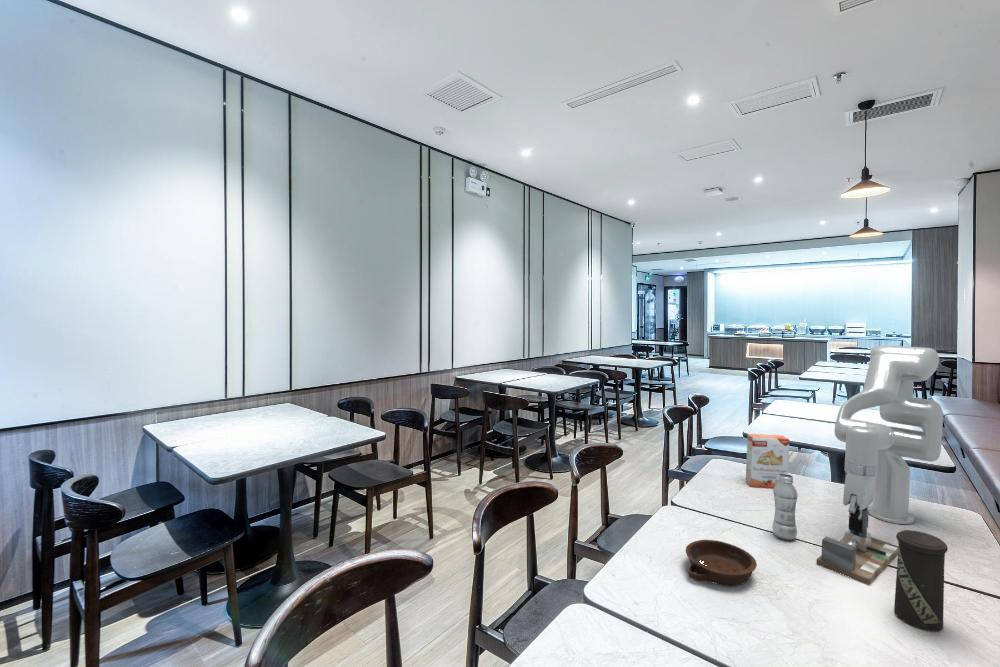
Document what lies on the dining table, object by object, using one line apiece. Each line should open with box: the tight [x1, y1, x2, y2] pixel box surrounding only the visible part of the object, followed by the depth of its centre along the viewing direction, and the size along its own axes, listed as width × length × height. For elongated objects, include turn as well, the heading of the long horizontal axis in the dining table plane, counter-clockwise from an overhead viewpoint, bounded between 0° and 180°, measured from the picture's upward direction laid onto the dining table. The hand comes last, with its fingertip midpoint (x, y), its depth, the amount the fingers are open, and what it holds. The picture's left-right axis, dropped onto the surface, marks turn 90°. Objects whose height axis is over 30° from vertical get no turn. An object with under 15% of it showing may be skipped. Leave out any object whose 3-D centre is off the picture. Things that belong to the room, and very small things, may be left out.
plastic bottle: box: [771, 474, 799, 541], centre depth 142 cm, size 6×7×20 cm
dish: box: [685, 539, 757, 587], centre depth 124 cm, size 18×22×5 cm
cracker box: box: [745, 433, 790, 489], centre depth 184 cm, size 14×6×21 cm, turn 81°
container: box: [893, 529, 949, 632], centre depth 104 cm, size 9×9×20 cm
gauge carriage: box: [844, 507, 886, 555], centre depth 130 cm, size 11×9×11 cm
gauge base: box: [815, 535, 898, 586], centre depth 130 cm, size 28×12×8 cm, turn 125°
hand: (858, 528), depth 133 cm, fingers closed on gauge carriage, 4 cm apart
